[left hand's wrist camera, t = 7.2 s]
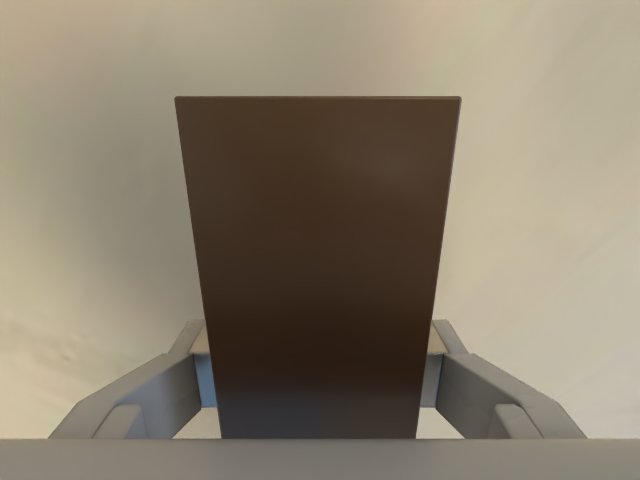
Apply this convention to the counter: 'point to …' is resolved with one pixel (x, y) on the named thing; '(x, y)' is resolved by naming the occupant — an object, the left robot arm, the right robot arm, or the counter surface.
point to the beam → (318, 256)
